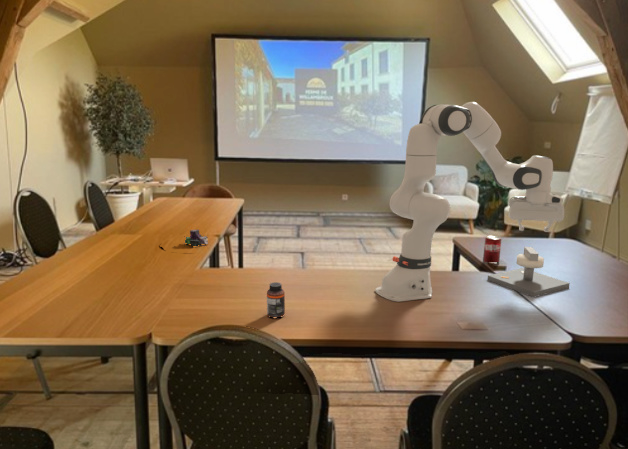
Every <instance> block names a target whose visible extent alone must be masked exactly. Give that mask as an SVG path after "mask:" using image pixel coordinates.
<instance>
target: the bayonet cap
mask: <svg viewBox="0 0 628 449" xmlns="http://www.w3.org/2000/svg"><path fill="white" fill-rule="evenodd" d="M523 248H524V249H523V253H520V254H517V256H516V262H515V263H516V265H517V266H520V267H522V268H524V267H527V268H534V269H541V268H544V264H545V263H544V261H545V258H544V257H542V256H540V254H539V253H538V252H537V251H536V250H535V249H534V248H533V246H532V247H531V246H529V247H528V246H524V247H523Z"/></svg>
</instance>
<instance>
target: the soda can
mask: <svg viewBox="0 0 628 449" xmlns="http://www.w3.org/2000/svg"><path fill="white" fill-rule="evenodd" d="M501 249H502V238H501V237H500V236H497V235H487V236H485V238H484V246H483V257H482V261H483V263H485V262H486V263H485V264H488V263H489V262H499V263H500V258H501Z"/></svg>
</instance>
